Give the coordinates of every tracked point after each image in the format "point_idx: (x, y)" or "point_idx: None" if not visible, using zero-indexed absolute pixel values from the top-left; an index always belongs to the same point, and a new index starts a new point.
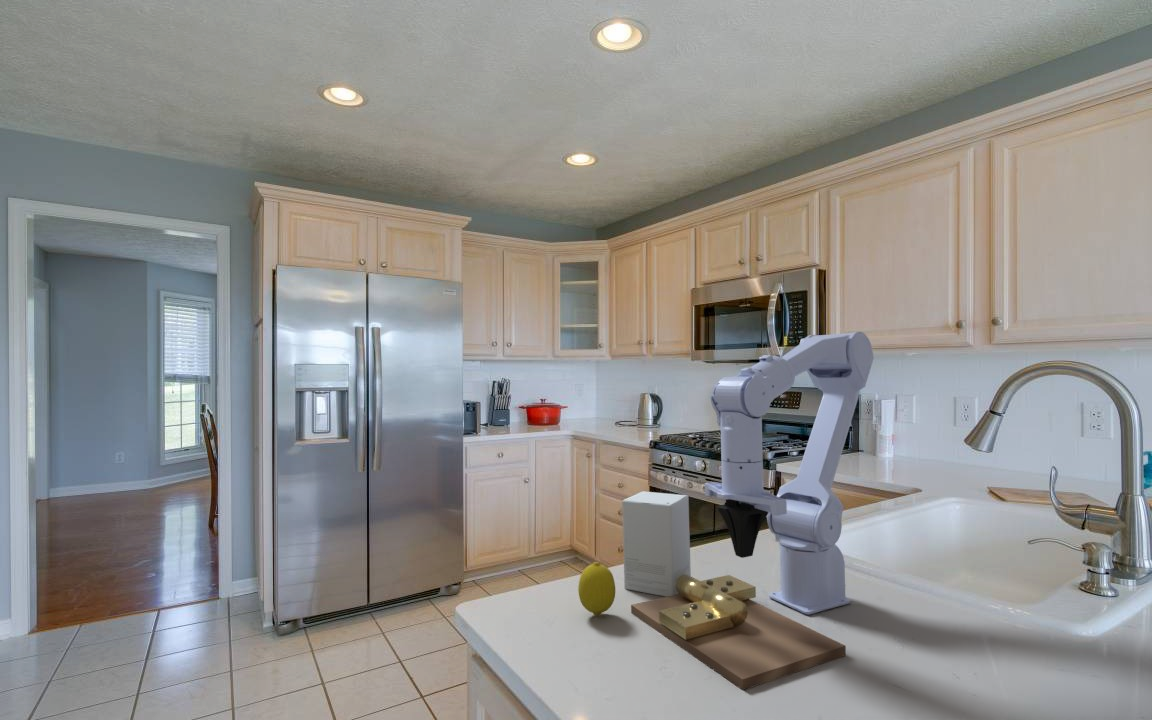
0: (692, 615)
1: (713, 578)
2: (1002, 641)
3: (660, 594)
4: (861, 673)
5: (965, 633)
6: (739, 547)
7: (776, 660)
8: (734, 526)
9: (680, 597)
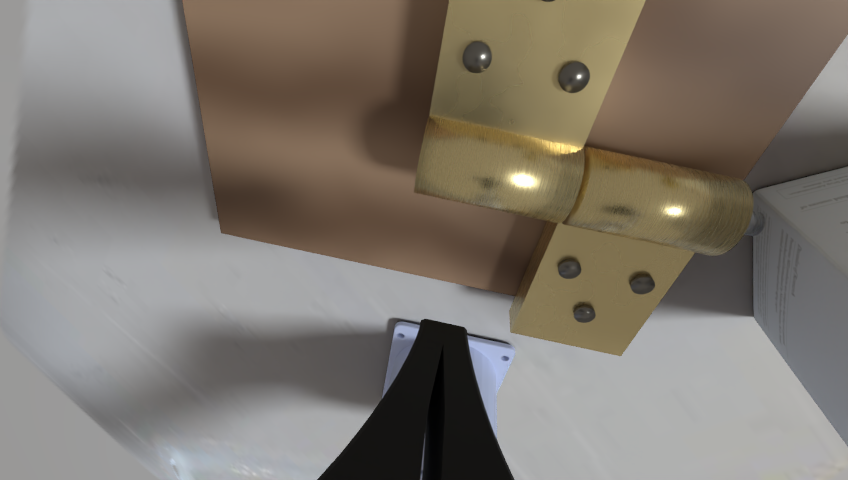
0: (529, 1)
1: (649, 314)
2: (183, 397)
3: (812, 177)
4: (161, 176)
5: (220, 395)
6: (420, 351)
7: (219, 36)
8: (419, 455)
9: None
